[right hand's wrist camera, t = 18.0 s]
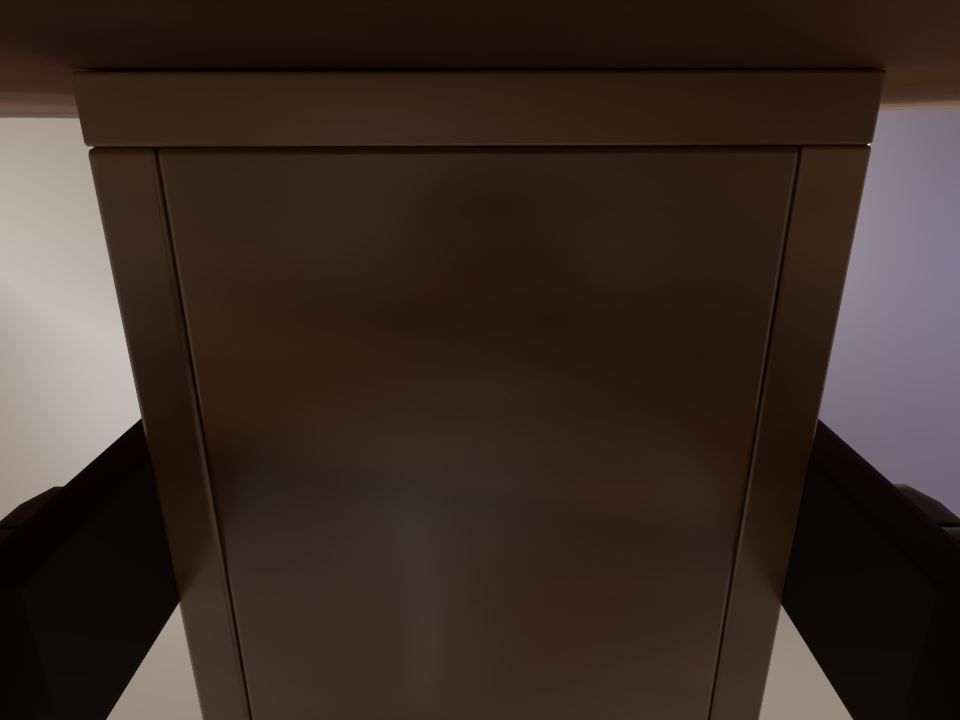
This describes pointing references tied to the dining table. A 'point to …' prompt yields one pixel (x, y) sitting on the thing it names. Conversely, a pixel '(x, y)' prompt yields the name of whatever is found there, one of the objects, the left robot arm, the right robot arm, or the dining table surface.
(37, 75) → the dining table surface
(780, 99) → the chest
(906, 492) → the right robot arm
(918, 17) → the dining table surface
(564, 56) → the dining table surface
